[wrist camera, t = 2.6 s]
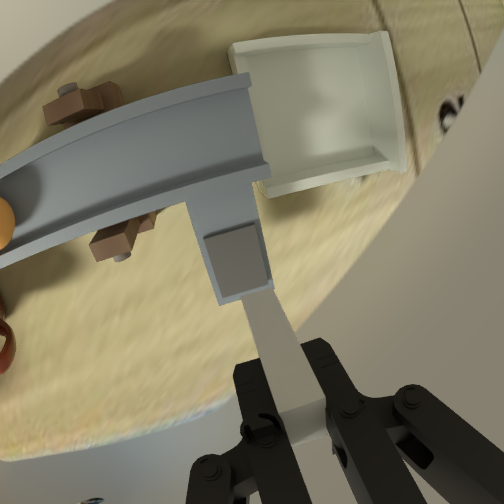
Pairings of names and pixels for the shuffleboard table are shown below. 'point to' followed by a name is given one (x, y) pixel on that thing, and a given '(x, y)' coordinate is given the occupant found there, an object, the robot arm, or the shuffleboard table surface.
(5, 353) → the mug
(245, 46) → the tray
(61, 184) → the lever
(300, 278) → the shuffleboard table surface
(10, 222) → the ball
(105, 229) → the fulcrum
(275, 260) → the shuffleboard table surface
